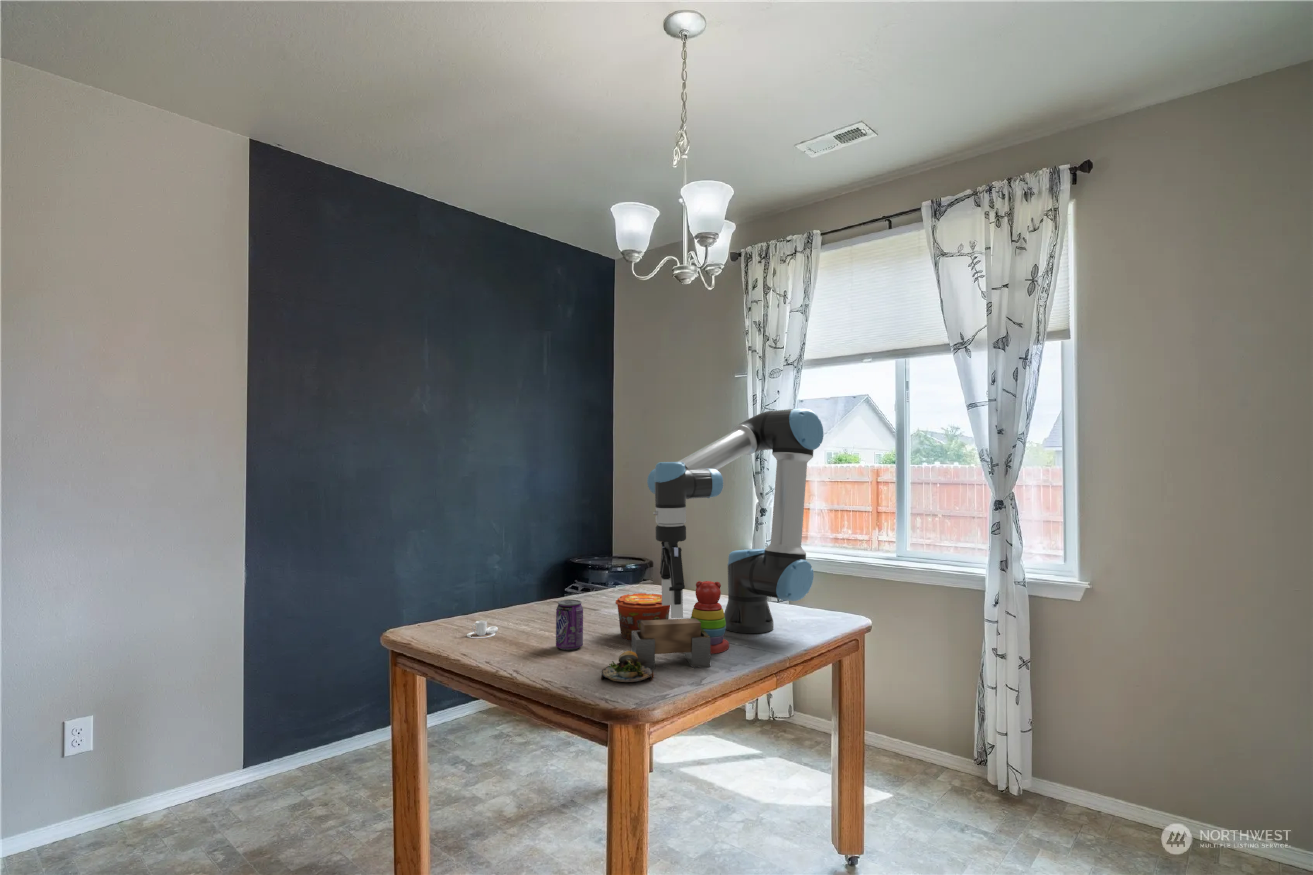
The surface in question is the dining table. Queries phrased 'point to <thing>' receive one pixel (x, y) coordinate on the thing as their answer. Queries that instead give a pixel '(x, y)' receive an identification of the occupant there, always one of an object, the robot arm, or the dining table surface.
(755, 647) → the dining table surface
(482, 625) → the teacup and saucer
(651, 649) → the cup bracket
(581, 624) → the beverage can
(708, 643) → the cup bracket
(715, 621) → the stacking bear
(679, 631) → the walnut rail
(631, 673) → the burger
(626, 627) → the food container
